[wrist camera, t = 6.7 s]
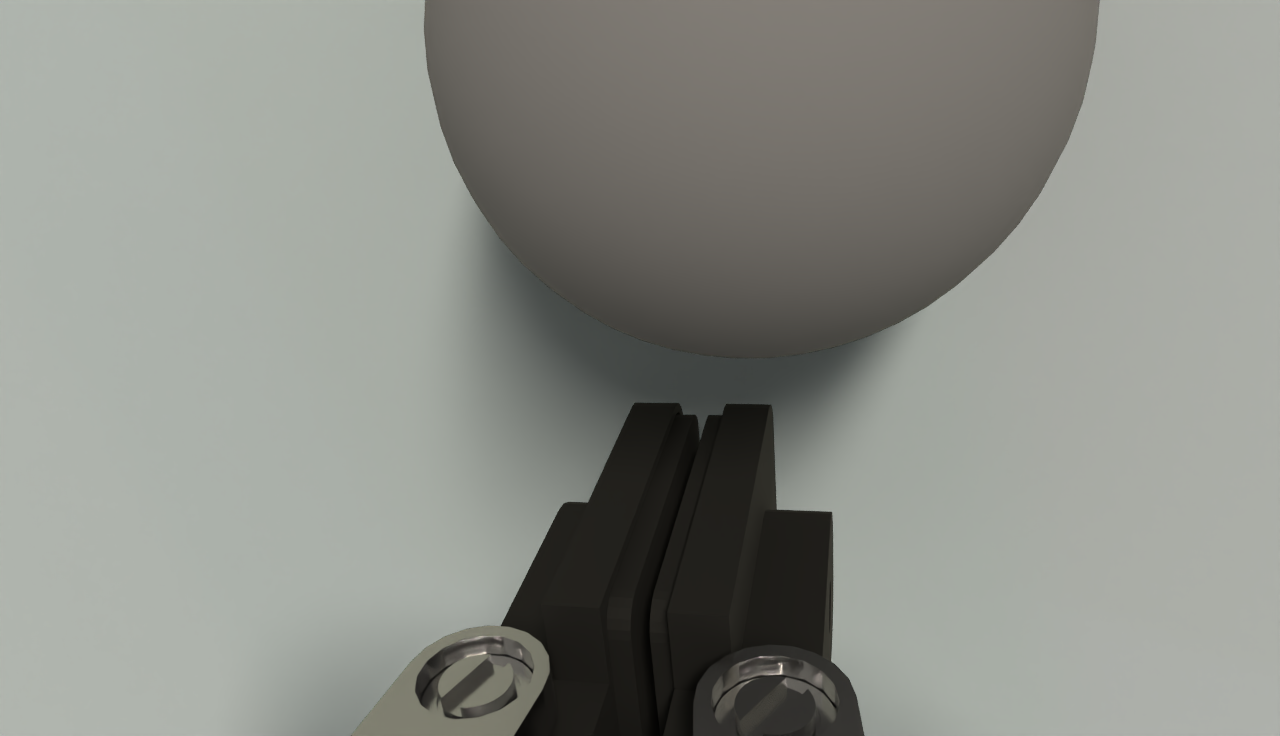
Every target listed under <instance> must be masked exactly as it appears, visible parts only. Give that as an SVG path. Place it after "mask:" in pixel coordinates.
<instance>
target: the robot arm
mask: <svg viewBox="0 0 1280 736" xmlns="http://www.w3.org/2000/svg"><path fill="white" fill-rule="evenodd" d="M832 626H833V520H832V512H820V511H794V510H777V509H776V482H775V455H774V428H773V412H772V406H771V405H765V404H726V405H725V407H724V411H723V415H708V418H707V421H706V424H705V427H704V430H703V434H702V437H701V440H699V427H698V420H697V416H696V415H683V413H682V408H681V406H680V404H679V403H634V405H633V406H632V408H631V410H630V413H629V415H628V417H627V419H626V421H625V424H624V426H623V428H622V430H621V432H620V434H619V437H618V439H617V441H616V443H615V445H614V447H613V450H612V452H611V454H610V456H609V458H608V460H607V463H606V465H605V467H604V469H603V471H602V473H601V476H600V478H599V480H598V482H597V484H596V486H595V489H594V491H593V493H592V495H591V497H590V499H589V502H588V503H582V502H567V503H564V504H563V505H562V507H561V508H560V509H559V511H558V513H557V515H556V517H555V519H554V521H553V523H552V525H551V527H550V529H549V531H548V533H547V535H546V537H545V539H544V541H543V543H542V545H541V547H540V549H539V551H538V553H537V555H536V557H535V559H534V561H533V563H532V565H531V567H530V569H529V571H528V573H527V575H526V577H525V579H524V581H523V583H522V585H521V587H520V589H519V591H518V593H517V595H516V597H515V599H514V601H513V603H512V605H511V607H510V609H509V611H508V613H507V615H506V617H505V618H504V620H503V622H502V624H501V626H482V627H475V628H468V629H464V630H462V631H459V632H456V633H453V634H450V635H447V636H445V637H443V638H441V639H439V640H438V641H436V642H434V643H433V644H431V645H429V646H428V647H426V648H425V649H424V650H423V651H422V652H421V653H419V654H418V655H417V656H416V657H415V658H414V659H413V660H412V661H411V662H410V663H409V664H408V666H407V667H406V668H405V669H404V671H403V672H402V673H401V674H400V676H399V677H398V678H397V679H396V680H395V682H394V683H393V684H392V685H391V687H390V688H389V689H388V690H387V692H386V693H385V694H384V695H383V696H382V698H381V699H380V700H379V701H378V703H377V704H376V705H375V706H374V708H373V709H372V710H371V711H370V712H369V714H368V715H367V716H366V717H365V719H364V720H363V721H362V722H361V724H360V725H359V726H358V727H357V728H356V730H355V731H354V732H353V733H352V735H351V736H864V732H863V727H862V722H861V717H860V711H859V706H858V701H857V697H856V694H855V692H854V690H853V687H852V685H851V682H850V680H849V679H848V677H847V676H846V675H845V674H844V673H843V672H842V671H841V670H840V669H839V668H838V667H837V666H836V665H835V664H834V663H832V662H831V651H832Z"/></svg>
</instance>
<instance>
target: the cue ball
mask: <svg viewBox="0 0 1280 736" xmlns="http://www.w3.org/2000/svg"><path fill="white" fill-rule="evenodd" d="M1099 1H1100V0H425V17H424V35H425V46H426V57H427V68H428V74H429V78H430V83H431V87H432V91H433V96H434V100H435V105H436V109H437V113H438V117H439V121H440V126H441V129H442V132H443V134H444V137H445V140H446V142H447V145H448V148H449V150H450V153H451V156H452V159H453V161H454V164H455V166H456V167H457V169H458V171H459V173H460V175H461V177H462V179H463V181H464V183H465V185H466V187H467V188H468V190H469V192H470V194H471V196H472V198H473V199H474V201H475V203H476V204H477V206H478V207H479V209H480V211H481V212H482V213H483V215H484V216H485V218H486V219H487V221H488V222H489V224H490V225H491V226H492V228H493V229H494V231H495V232H496V234H497V235H498V236H499V238H500V239H501V240H502V241H503V243H504V244H505V245H506V246H507V247H508V248H509V249H510V250H511V252H512V253H513V254H514V255H515V256H516V257H517V258H518V259H519V260H520V262H521V263H522V264H523V265H524V266H525V267H527V268H528V269H529V270H530V271H531V272H532V273H533V274H534V275H536V276H537V277H538V278H539V279H540V280H541V281H542V282H544V283H545V284H546V285H547V286H548V287H549V288H551V289H552V290H553V291H554V292H556V293H557V294H558V295H560V296H561V297H563V298H564V299H565V300H567V301H568V302H570V303H571V304H573V305H574V306H575V307H577V308H578V309H580V310H581V311H583V312H584V313H586V314H587V315H589V316H591V317H593V318H595V319H597V320H598V321H600V322H602V323H604V324H606V325H608V326H609V327H611V328H613V329H616V330H618V331H620V332H623V333H625V334H628V335H630V336H633V337H635V338H637V339H640V340H642V341H646V342H649V343H652V344H656V345H659V346H662V347H666V348H669V349H673V350H678V351H683V352H688V353H694V354H699V355H704V356H716V357H727V358H773V357H781V356H790V355H799V354H805V353H810V352H814V351H819V350H824V349H828V348H833V347H837V346H840V345H843V344H846V343H849V342H852V341H855V340H858V339H862V338H865V337H867V336H870V335H872V334H874V333H877V332H879V331H881V330H883V329H886V328H888V327H890V326H893V325H895V324H897V323H899V322H901V321H903V320H904V319H906V318H908V317H910V316H911V315H913V314H915V313H917V312H918V311H920V310H922V309H924V308H925V307H927V306H929V305H930V304H931V303H933V302H934V301H936V300H937V299H938V298H940V297H941V296H943V295H944V294H945V293H947V292H948V291H950V290H951V289H952V288H954V287H955V286H956V285H958V284H959V283H960V282H961V281H962V280H963V279H964V278H966V277H967V276H968V275H969V274H970V273H971V272H972V271H973V270H974V269H976V268H977V267H978V266H979V265H980V264H981V263H982V262H983V261H984V260H986V259H987V258H988V257H989V256H990V255H991V254H992V253H993V252H994V251H995V250H996V249H997V248H998V247H999V246H1000V245H1001V243H1002V242H1003V241H1004V240H1005V239H1006V238H1007V237H1008V236H1009V234H1010V233H1011V232H1012V231H1013V230H1014V229H1015V228H1016V227H1017V225H1018V224H1019V223H1020V221H1021V220H1022V219H1023V217H1024V216H1025V214H1026V213H1027V211H1028V210H1029V209H1030V207H1031V206H1032V204H1033V203H1034V201H1035V200H1036V199H1037V197H1038V196H1039V194H1040V193H1041V191H1042V189H1043V187H1044V185H1045V183H1046V182H1047V180H1048V178H1049V176H1050V174H1051V172H1052V170H1053V169H1054V167H1055V165H1056V163H1057V161H1058V159H1059V157H1060V155H1061V153H1062V152H1063V150H1064V148H1065V146H1066V144H1067V142H1068V140H1069V137H1070V135H1071V132H1072V129H1073V127H1074V124H1075V121H1076V119H1077V116H1078V113H1079V111H1080V108H1081V105H1082V103H1083V99H1084V95H1085V90H1086V86H1087V82H1088V77H1089V73H1090V69H1091V64H1092V60H1093V54H1094V49H1095V43H1096V34H1097V23H1098V12H1099Z"/></svg>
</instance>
